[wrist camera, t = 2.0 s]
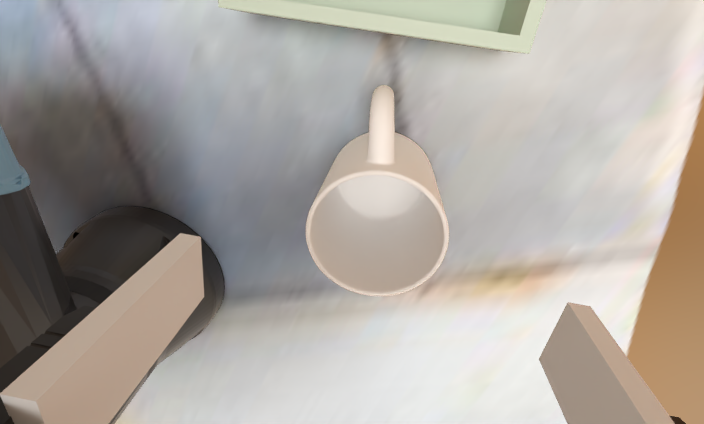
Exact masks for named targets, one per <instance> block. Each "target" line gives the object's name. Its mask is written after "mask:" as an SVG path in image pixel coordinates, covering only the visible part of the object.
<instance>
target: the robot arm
mask: <svg viewBox="0 0 704 424" xmlns="http://www.w3.org/2000/svg"><path fill="white" fill-rule="evenodd" d="M30 183H31V181H30V179H29V175H28V174H27V173H26V170H25V169H24V168H23V167H22V166H21V165H19V163H18V161H17V159H16V157H15V155H14V153H13V150H12V148H11V146H10V144H9V142H8V140H7V138H6V135H5V133H4V131H3V129H2V127H1V125H0V424H115V422H116V421H117V419H118V418H119V417H120V415H121V414H122V413H123V411H124V410H125V408H126V407H127V406H128V404H129V403H130V402H131V400H132V399H133V397H134V396H135V395H136V393H137V392H138V391H139V389H140V388H141V386H142V385H143V384H144V382H145V381H146V379H147V378H148V377H149V375H150V374H151V373H152V371H153V370H154V369H155V367H156V366H157V365H158V364H159V363H161V362H162V361H163V360H165V359H166V358H167V357H169V356H170V355H171V354H173V353H174V352H175V351H177V350H178V349H179V348H180V347H182V346H183V345H184V344H186V343H187V342H188V341H189V340H191V339H193V338H194V337H196V336H197V335H199V334H200V333H201V332H202V331H203V330H204V329H205V328H206V327H207V326H208V325H209V323H210V322H211V320H212V319H213V317H214V316H215V314H216V313H217V311H218V309H219V308H220V306H221V303H222V300H223V296H224V280H223V275H222V271H221V268H220V266H219V264H218V261H217V259H216V258H215V256H214V254H213V253H212V251H211V250H210V248H209V247H208V246H207V245H206V243H205V242H204V241H203V240H202V239H201V237H199V236H198V235H197V234H196V233H195V232H194V231H192V230H191V229H190V228H189V227H187V226H186V225H184V224H183V223H181V222H180V221H178V220H176V219H174V218H173V217H170V216H168V215H166V214H164V213H161V212H158V211H155V210H152V209H148V208H143V207H134V206H125V207H117V208H112V209H109V210H106V211H104V212H102V213H100V214H98V215H97V216H95V217H93V218H92V219H90V220H88V221H87V222H85V223H83V224H82V225H80V226H79V227H78V228H77V229H76V230H75V231H74V232H73V233H72V234H71V235H70V236H69V238H68V239H67V241H66V242H65V244H64V247H63V249H62V250H60V251H59V252H58V253H57V254H55V252H54V249H53V246H52V244H51V241H50V239H49V236H48V234H47V231H46V229H45V226H44V224H43V221H42V219H41V216H40V214H39V211H38V208H37V206H36V203H35V201H34V198H33V196H32V193H31V191H30V188H29V186H28V185H30ZM539 360H540V362H541V365H542V367H543V369H544V372H545V374H546V376H547V378H548V381H549V383H550V385H551V387H552V390H553V392H554V394H555V396H556V399H557V401H558V403H559V405H560V408H561V410H562V412H563V414H564V417H565V419H566V421H567V423H568V424H686V423H685V422H683V421H682V420H681V419H680V418H679V417H674V416H669V415H668V413H667V412H666V411H665V409H664V408H663V407H662V405H661V404H660V402H659V401H658V400H657V398H656V397H655V395H654V394H653V393H652V392H651V390H650V389H649V387H648V386H647V385H646V383H645V382H644V380H643V379H642V377H641V376H640V375H639V373H638V372H637V371H636V369H635V368H634V366H633V365H632V364H631V362H630V361H629V359H628V358H627V357H626V355H625V354H624V353H623V351H622V350H621V348H620V347H619V346H618V344H617V343H616V341H615V340H614V339H613V337H612V336H611V335H610V333H609V332H608V330H607V329H606V328H605V326H604V325H603V323H602V322H601V321H600V319H599V318H598V317H597V315H596V314H595V312H594V311H593V310H592V308H591V307H590V306H585V305H579V304H574V303H567V305H566V307H565V309H564V311H563V313H562V315H561V317H560V319H559V321H558V323H557V325H556V327H555V329H554V331H553V333H552V334H551V336H550V338H549V340H548V342H547V344H546V346H545V348H544V350H543V352H542V354H541V356H540V358H539Z"/></svg>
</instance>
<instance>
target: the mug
mask: <svg viewBox="0 0 704 424" xmlns="http://www.w3.org/2000/svg"><path fill="white" fill-rule="evenodd" d="M306 241H307V245H308V249H309V252H310V254H311V256H312V258H313V260H314V262H315V264H316V265H317V266H318V268H319V269H320V270H321V271H322V272H323V273H324V274H325V275H326V276H327V277H328V278H329V279H330V280H332V281H333V282H334V283H336V284H337V285H339V286H341V287H343V288H345V289H347V290H349V291H352V292H355V293H358V294H363V295H369V296H391V295H396V294H400V293H404V292H407V291H409V290H411V289H414V288H416V287H417V286H419V285H421V284H422V283H424V282H425V281H426V280H428V279H429V278H430V277H431V276H432V275H433V274H434V273H435V271H436V270H437V269H438V268H439V266H440V264H441V263H442V261H443V259H444V257H445V254H446V252H447V248H448V244H449V226H448V222H447V218H446V214H445V211H444V207H443V204H442V200H441V197H440V193H439V190H438V187H437V183H436V180H435V176H434V173H433V169H432V167H431V164H430V161H429V159H428V158H427V156H426V154H425V153H424V151H423V150H422V149H421V148H420V147H419V146H418V145H417V144H416V143H415V142H414V141H412V140H411V139H409V138H407V137H406V136H404V135H401V134H399V133H395V128H394V93H393V90H392V89H391V88H390V87H389V86H386V85H382V86H379V87H377V88H376V89H375V90H374V92H373V95H372V100H371V108H370V119H369V133H366V134H363V135H360V136H358V137H356V138H355V139H353V140H351V141H350V142H349V143H348V144H347V145H346V146H345V147H344V148H343V149H342V150H341V151H340V153H339V154H338V155H337V157H336V159H335V161H334V162H333V164H332V166H331V168H330V170H329V172H328V174H327V176H326V178H325V180H324V182H323V184H322V186H321V188H320V190H319V192H318V194H317V196H316V198H315V200H314V202H313V204H312V206H311V208H310V211H309V214H308V217H307V221H306Z"/></svg>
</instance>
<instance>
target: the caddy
mask: <svg viewBox="0 0 704 424" xmlns="http://www.w3.org/2000/svg"><path fill="white" fill-rule="evenodd" d="M546 1H547V0H218V3H219V7H220V8H226V9H231V10H237V11H242V12H247V13H253V14H259V15H266V16H272V17H279V18H286V19H292V20H299V21H306V22H312V23H319V24H326V25H332V26H339V27H346V28H352V29H359V30H365V31H372V32H379V33H385V34H392V35H399V36H405V37H412V38H419V39H425V40H432V41H439V42H445V43H452V44H459V45H465V46H472V47H479V48H485V49H492V50H499V51H507V52H517V53H527V54H529V53H530V50H531V47H532V44H533V41H534V38H535V35H536V32H537V29H538V25H539V22H540V19H541V16H542V13H543V10H544V7H545V4H546Z"/></svg>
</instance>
